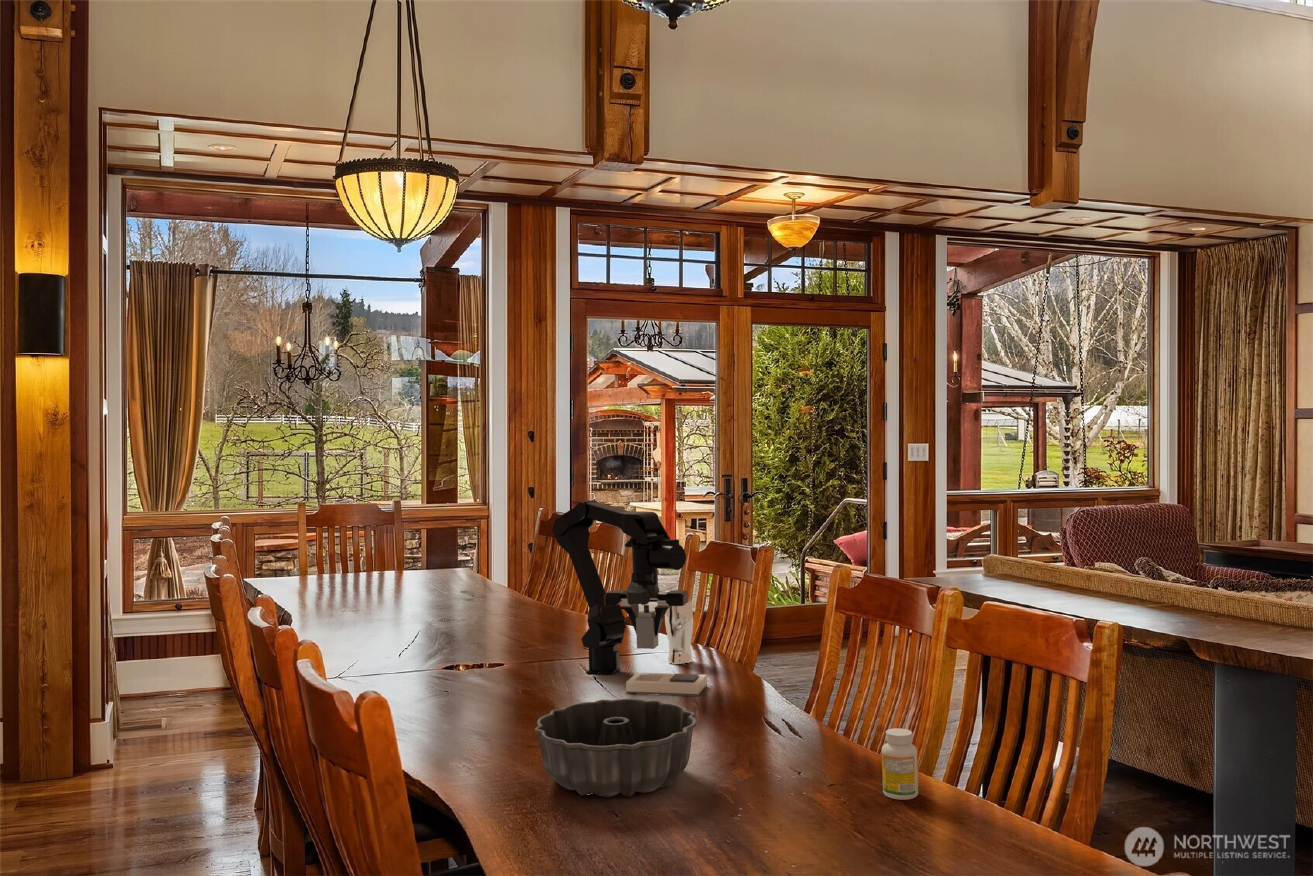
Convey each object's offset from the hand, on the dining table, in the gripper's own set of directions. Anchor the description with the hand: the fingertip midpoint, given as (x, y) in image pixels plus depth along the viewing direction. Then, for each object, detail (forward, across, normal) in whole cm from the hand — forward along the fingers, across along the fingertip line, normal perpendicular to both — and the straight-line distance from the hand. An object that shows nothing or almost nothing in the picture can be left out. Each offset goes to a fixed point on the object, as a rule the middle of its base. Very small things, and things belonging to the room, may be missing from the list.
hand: (647, 635), depth 235 cm
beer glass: (+10, +3, +19) cm, 22 cm away
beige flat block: (+10, +6, -8) cm, 14 cm away
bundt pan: (+11, +13, -66) cm, 68 cm away
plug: (+3, 0, 0) cm, 3 cm away
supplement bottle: (+11, +58, -65) cm, 88 cm away
